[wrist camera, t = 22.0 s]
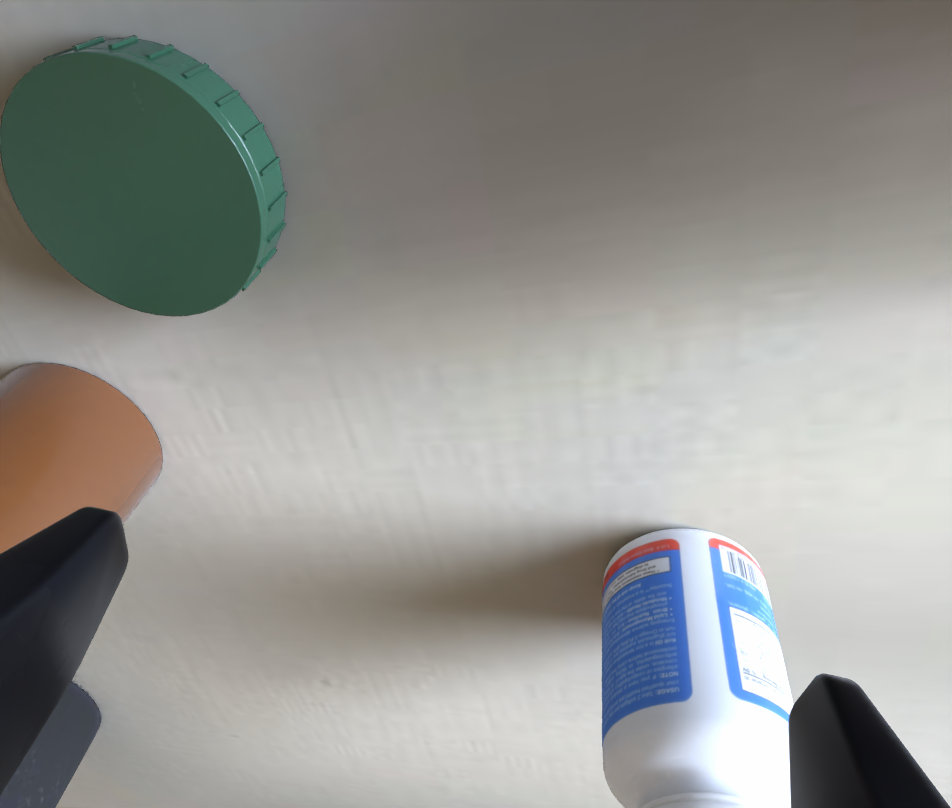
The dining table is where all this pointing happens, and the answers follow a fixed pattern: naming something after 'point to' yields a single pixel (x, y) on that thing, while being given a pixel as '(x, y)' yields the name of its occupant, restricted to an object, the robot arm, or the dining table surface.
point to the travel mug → (54, 753)
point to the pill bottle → (692, 677)
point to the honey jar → (69, 449)
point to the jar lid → (143, 175)
